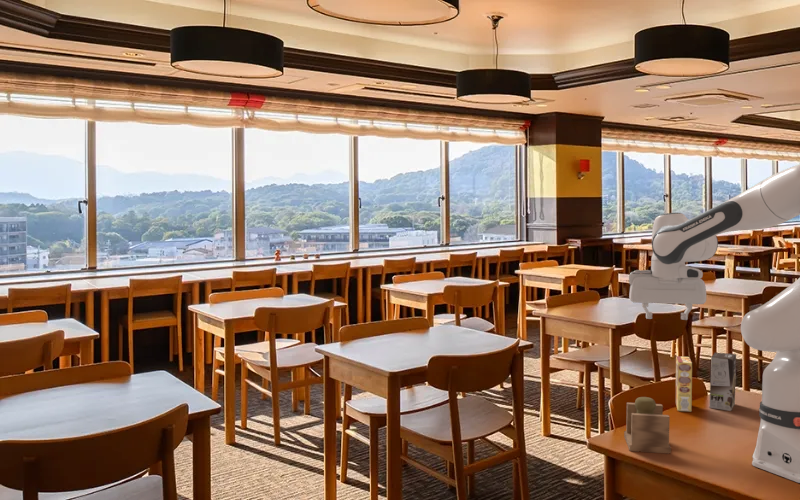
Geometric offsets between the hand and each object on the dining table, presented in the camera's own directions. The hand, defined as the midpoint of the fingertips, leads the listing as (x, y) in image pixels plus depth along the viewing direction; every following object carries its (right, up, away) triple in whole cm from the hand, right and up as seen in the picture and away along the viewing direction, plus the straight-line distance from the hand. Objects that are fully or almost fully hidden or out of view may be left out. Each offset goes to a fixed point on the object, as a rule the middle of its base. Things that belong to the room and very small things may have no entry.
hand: (666, 319), depth 190 cm
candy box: (+13, -30, +20) cm, 38 cm away
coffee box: (+26, -30, +21) cm, 45 cm away
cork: (-11, -31, -13) cm, 35 cm away
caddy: (-10, -32, -13) cm, 36 cm away
